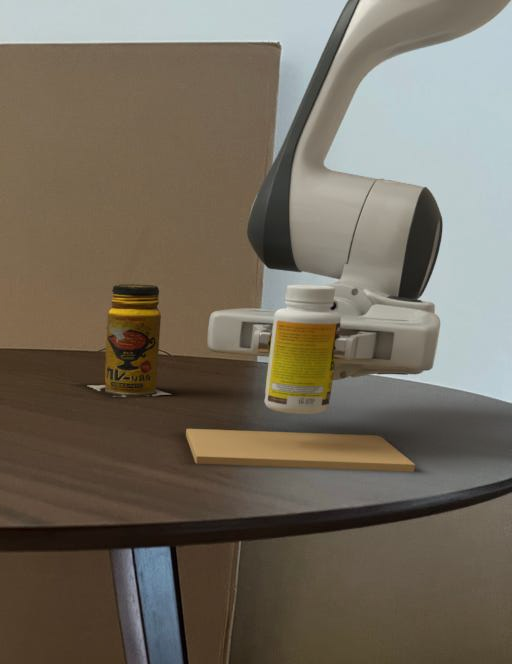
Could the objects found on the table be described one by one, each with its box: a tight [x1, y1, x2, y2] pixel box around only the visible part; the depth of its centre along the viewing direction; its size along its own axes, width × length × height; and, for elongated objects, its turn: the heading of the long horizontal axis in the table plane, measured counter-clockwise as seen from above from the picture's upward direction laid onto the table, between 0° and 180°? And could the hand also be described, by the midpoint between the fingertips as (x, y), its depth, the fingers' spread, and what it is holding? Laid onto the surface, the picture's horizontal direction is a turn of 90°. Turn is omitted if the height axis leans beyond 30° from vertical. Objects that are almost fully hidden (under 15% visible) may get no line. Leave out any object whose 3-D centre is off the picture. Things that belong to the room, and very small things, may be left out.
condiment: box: [88, 283, 172, 398], centre depth 119 cm, size 7×8×12 cm
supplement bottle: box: [264, 284, 341, 415], centre depth 88 cm, size 6×6×10 cm
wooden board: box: [185, 428, 416, 473], centre depth 91 cm, size 18×12×1 cm, turn 86°
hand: (301, 345), depth 87 cm, fingers closed on supplement bottle, 5 cm apart
